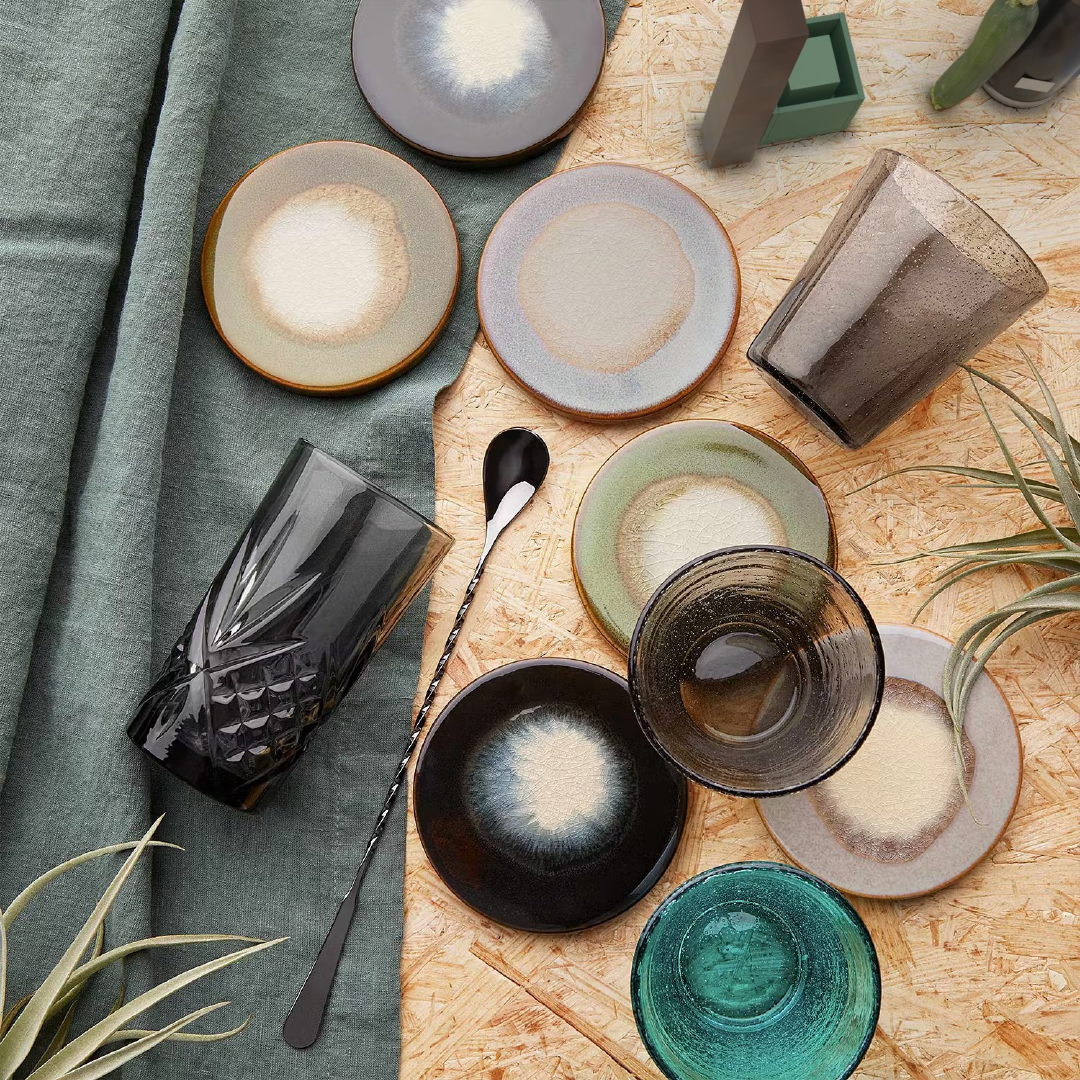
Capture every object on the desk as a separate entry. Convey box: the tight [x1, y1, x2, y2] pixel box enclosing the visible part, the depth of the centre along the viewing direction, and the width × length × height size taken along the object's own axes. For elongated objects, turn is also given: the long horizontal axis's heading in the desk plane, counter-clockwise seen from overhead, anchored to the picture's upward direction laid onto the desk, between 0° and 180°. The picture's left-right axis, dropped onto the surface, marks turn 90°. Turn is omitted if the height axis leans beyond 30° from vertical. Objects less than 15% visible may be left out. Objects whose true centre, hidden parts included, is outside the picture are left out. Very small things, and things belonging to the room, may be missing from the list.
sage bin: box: [758, 11, 866, 146], centre depth 93 cm, size 9×9×6 cm
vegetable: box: [929, 0, 1039, 110], centre depth 86 cm, size 4×4×20 cm
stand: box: [699, 0, 809, 170], centre depth 85 cm, size 4×4×20 cm
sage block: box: [777, 35, 840, 108], centre depth 93 cm, size 5×5×5 cm
